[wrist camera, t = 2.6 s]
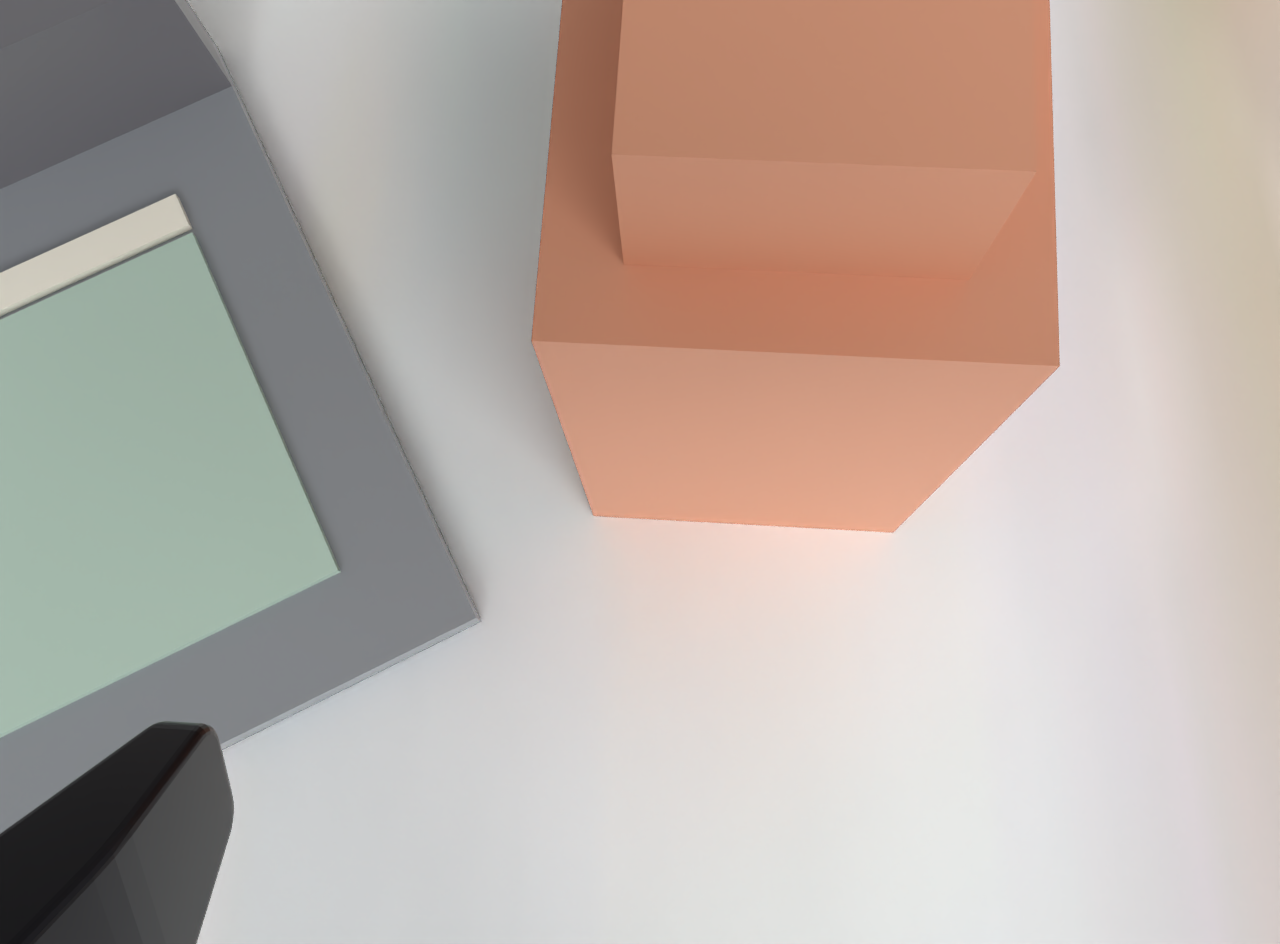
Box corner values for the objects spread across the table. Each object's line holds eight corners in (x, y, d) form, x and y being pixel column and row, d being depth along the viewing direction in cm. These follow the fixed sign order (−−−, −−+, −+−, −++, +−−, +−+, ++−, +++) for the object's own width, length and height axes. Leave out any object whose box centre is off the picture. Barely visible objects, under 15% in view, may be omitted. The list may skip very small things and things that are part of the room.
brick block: (893, 532, 22) (1149, 275, 10) (593, 515, 23) (497, 246, 10) (896, 245, 24) (1123, -277, 12) (614, 233, 24) (551, -289, 12)
